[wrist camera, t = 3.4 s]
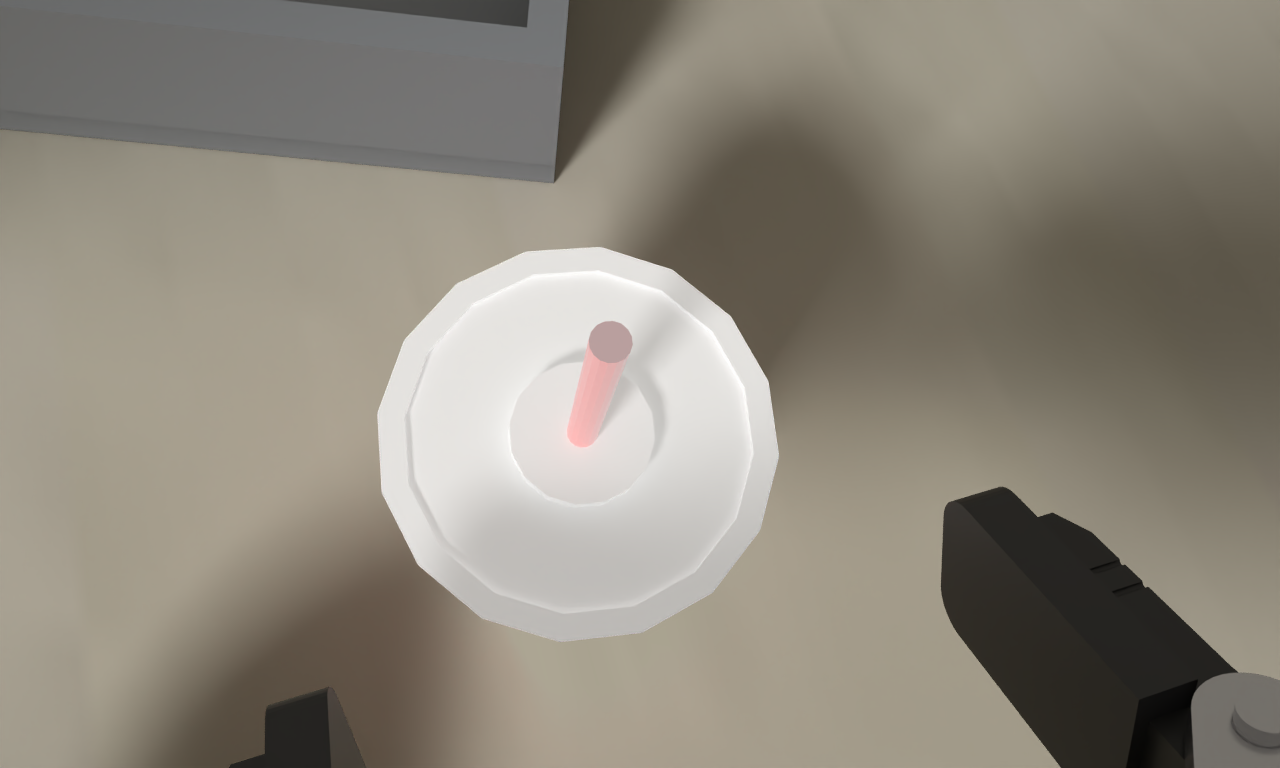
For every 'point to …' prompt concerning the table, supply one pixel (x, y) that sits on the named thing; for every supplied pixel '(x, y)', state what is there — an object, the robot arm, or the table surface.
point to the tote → (297, 78)
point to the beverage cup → (577, 443)
